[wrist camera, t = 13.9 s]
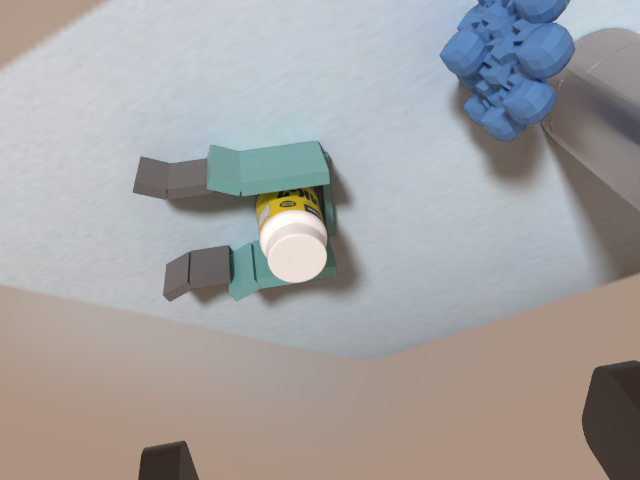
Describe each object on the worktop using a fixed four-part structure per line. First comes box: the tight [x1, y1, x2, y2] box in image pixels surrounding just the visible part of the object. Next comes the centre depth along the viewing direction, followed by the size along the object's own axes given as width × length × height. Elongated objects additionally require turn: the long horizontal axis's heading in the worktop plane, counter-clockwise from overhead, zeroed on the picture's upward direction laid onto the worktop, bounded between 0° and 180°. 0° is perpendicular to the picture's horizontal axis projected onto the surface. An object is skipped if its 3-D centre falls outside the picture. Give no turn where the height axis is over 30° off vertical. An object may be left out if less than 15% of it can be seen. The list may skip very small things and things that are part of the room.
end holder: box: [207, 141, 337, 302], centre depth 44 cm, size 9×11×5 cm
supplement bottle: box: [256, 186, 327, 283], centre depth 42 cm, size 5×5×8 cm
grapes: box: [440, 0, 576, 142], centre depth 36 cm, size 12×7×12 cm, turn 2°
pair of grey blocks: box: [133, 157, 231, 302], centre depth 44 cm, size 5×10×4 cm, turn 5°
